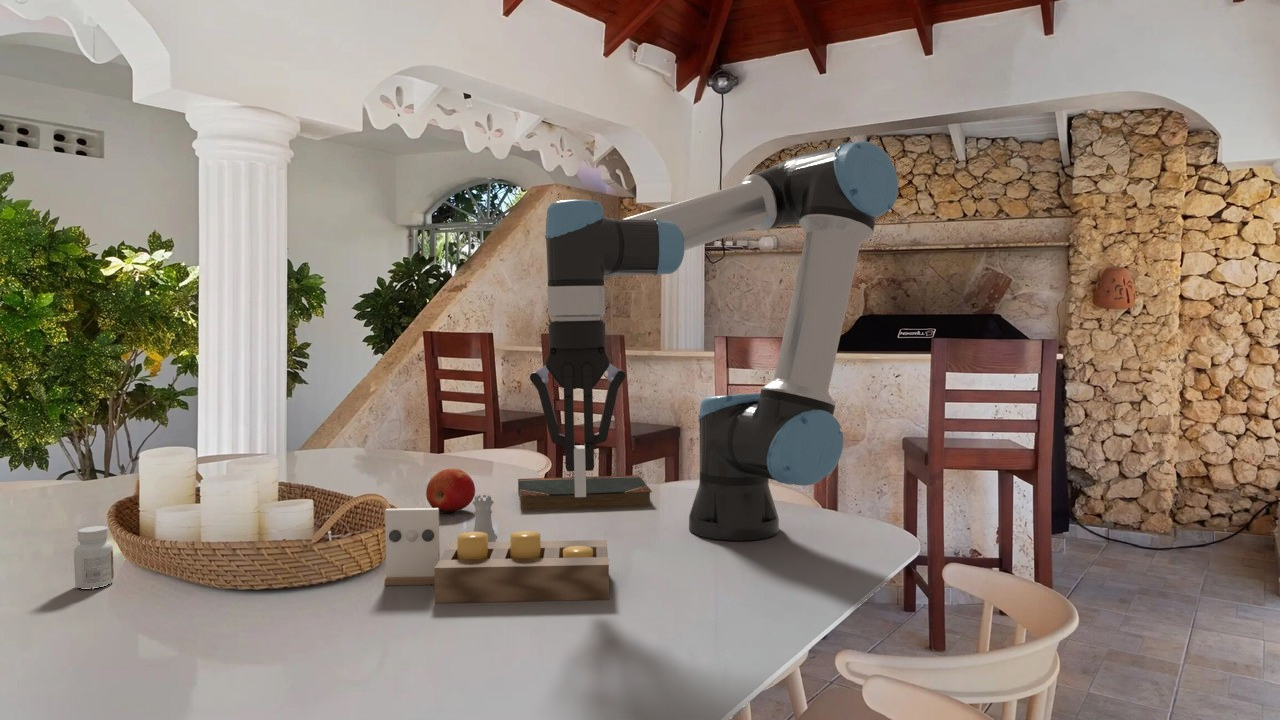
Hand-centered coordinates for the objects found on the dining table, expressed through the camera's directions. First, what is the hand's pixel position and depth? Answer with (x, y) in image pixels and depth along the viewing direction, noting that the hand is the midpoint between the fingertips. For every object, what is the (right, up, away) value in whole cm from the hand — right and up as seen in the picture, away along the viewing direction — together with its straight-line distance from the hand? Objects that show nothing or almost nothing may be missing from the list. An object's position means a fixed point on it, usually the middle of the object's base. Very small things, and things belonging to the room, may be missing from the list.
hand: (580, 494), depth 115 cm
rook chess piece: (-17, -12, +19) cm, 28 cm away
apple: (-27, -10, +43) cm, 52 cm away
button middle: (-7, -10, 0) cm, 12 cm away
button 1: (-14, -10, -1) cm, 17 cm away
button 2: (0, -12, 0) cm, 12 cm away
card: (-23, -12, +2) cm, 26 cm away
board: (-7, -12, 0) cm, 14 cm away
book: (-3, -10, +54) cm, 55 cm away
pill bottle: (-65, -13, 0) cm, 67 cm away
